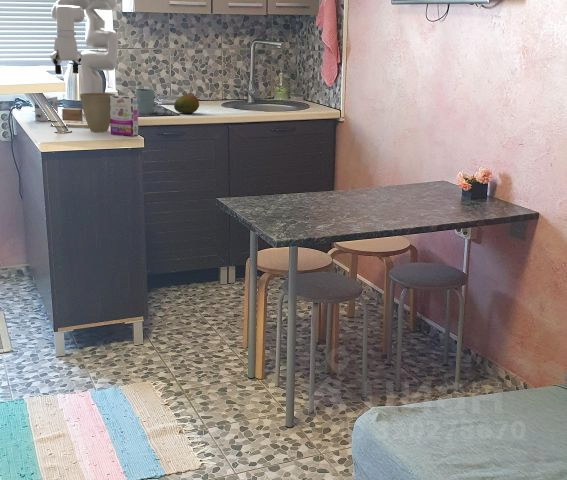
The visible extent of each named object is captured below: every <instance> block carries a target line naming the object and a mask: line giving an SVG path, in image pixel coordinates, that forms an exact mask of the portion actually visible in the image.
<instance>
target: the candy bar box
mask: <svg viewBox="0 0 567 480" xmlns="http://www.w3.org/2000/svg"><path fill="white" fill-rule="evenodd" d="M109 130H110V135H113V136H122V135H123V136H125V137H137V136H139V113H138V97H135V95H134V96H133V95H116V94H115V95H113V96H110V126H109Z"/></svg>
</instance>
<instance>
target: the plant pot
mask: <svg viewBox="0 0 567 480" xmlns="http://www.w3.org/2000/svg"><path fill="white" fill-rule="evenodd" d="M113 95H116V94H115V93H111V92H103V93H83V92H82V93H80V94H79V99H80V104H81V107H82V108H81V109H82V112H84V115H85V116H84V115H83V116H84V117H85V118H84V119H85V121H87V124H88V126H89V128H88V129H89V130H90V132H93V133H106V132H108V131H109V130H110V96H113Z"/></svg>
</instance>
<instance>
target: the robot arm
mask: <svg viewBox="0 0 567 480" xmlns="http://www.w3.org/2000/svg"><path fill="white" fill-rule="evenodd" d="M117 4H118V1H117V0H56V2H55V3H54V4H53V6H52V8H51V14H50V15H51V17H52V19H53V21H55V23H56V37H55V38H54V39H55V40H54V44H53V45H54V48H53V52H52V53H51V54H49V57H50V59H51V62H52V64H53V65H54V69H55V72H54V73H55V75H62V65H61V63H62V61H64V62H66V61H70V62H71V61H72V63H73V64H72V74H79V65H80V67H81V74H82V94H83V93H104V92H103V85H104V84H103V78H102V76H101V74H100V73H99V71H108V72H109V71H114V70H115V68H116V67H117V59H118V52H119V51H118V49H119V36H118V33H117V32H116V31H115V30H114V29H106V28H105V24H106V20H105V18H104V17H103V15H102V13H100V11H113V10H114V9H116V7H117ZM99 10H100V11H99ZM85 17H86V29H85V30H86V31H85V46H86V47H87V48H89V49H87V50H83V51H82V52H79V51H78V45H77V39H76V37H75V36H76V35H77V34H76V33H77V32H75V24H79V23H81V22H83V21H84V19H85ZM82 113H83V117H85V115H84V112H83V111H82Z"/></svg>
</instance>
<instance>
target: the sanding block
mask: <svg viewBox="0 0 567 480" xmlns="http://www.w3.org/2000/svg"><path fill="white" fill-rule="evenodd" d="M61 112H62V114H61V115H62V120H70V121H84V119H83V118H84V115H83V113H82V112H83V108H76V107H75V108H73V107H64V108H62V109H61Z"/></svg>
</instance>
